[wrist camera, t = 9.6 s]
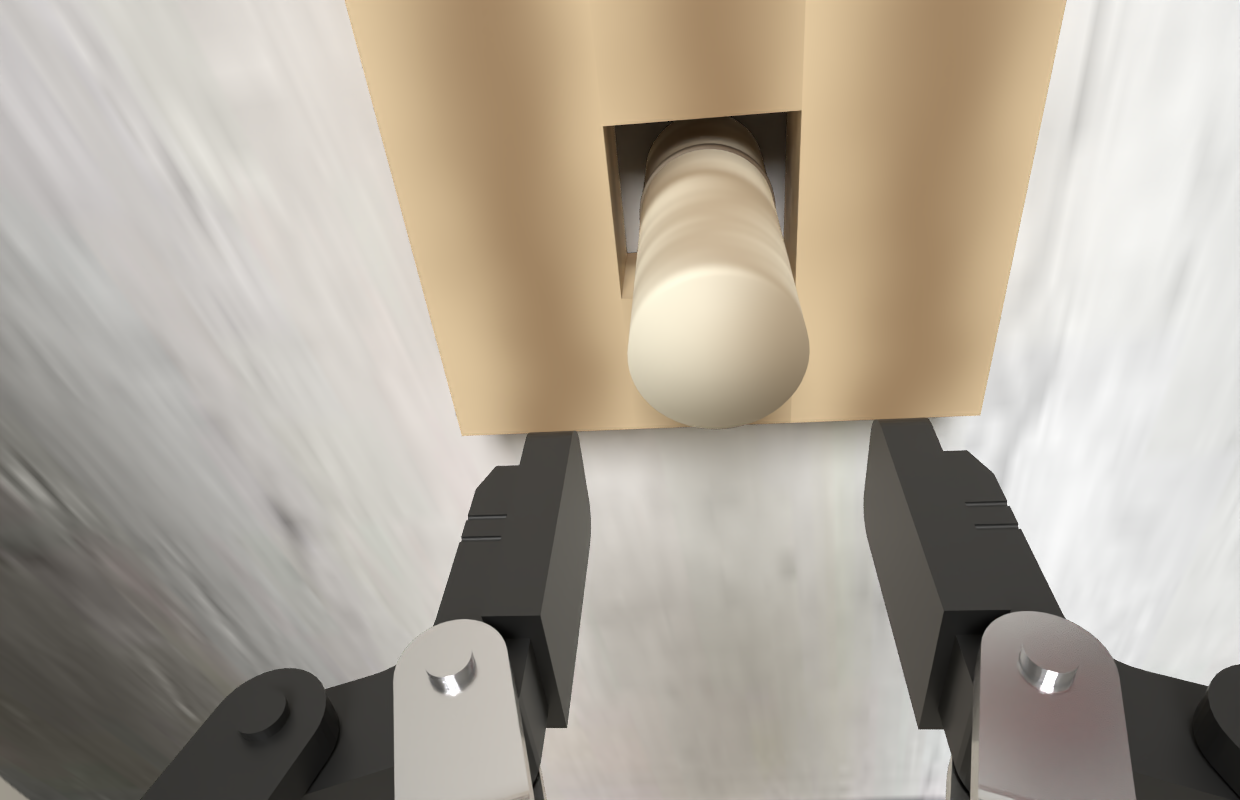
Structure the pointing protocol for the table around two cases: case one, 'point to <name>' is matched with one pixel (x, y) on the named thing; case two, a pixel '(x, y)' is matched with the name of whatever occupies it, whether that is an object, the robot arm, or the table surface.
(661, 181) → the peg
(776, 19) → the board
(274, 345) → the table surface
